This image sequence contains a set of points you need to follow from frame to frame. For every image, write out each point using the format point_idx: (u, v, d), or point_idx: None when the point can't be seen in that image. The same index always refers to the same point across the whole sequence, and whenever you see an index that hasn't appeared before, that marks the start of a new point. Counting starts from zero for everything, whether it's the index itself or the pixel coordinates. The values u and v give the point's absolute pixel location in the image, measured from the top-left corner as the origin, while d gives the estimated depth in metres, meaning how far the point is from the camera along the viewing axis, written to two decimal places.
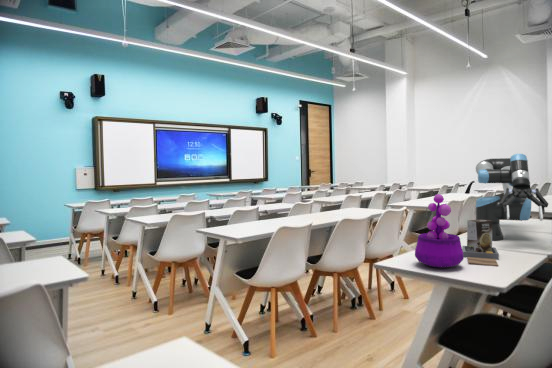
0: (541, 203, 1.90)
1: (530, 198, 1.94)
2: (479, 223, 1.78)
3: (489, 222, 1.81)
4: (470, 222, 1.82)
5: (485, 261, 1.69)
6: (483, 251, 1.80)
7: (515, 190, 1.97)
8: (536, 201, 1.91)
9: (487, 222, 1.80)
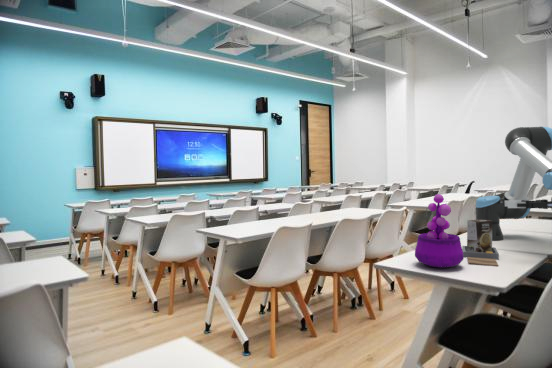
0: None
1: None
2: (479, 223, 1.78)
3: (489, 222, 1.81)
4: (470, 222, 1.82)
5: (485, 261, 1.69)
6: (483, 251, 1.80)
7: None
8: None
9: (487, 222, 1.80)
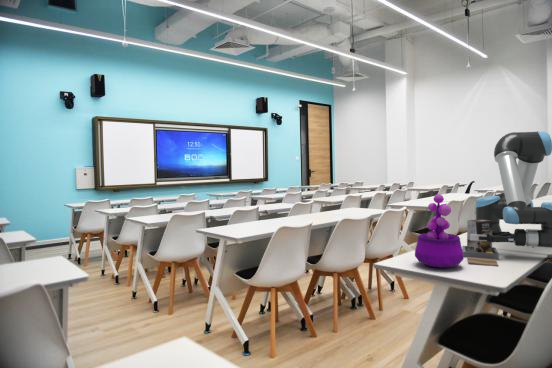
0: None
1: (498, 235, 1.82)
2: (479, 223, 1.78)
3: (489, 222, 1.81)
4: (470, 222, 1.82)
5: (485, 261, 1.69)
6: (483, 251, 1.80)
7: None
8: None
9: (487, 222, 1.80)
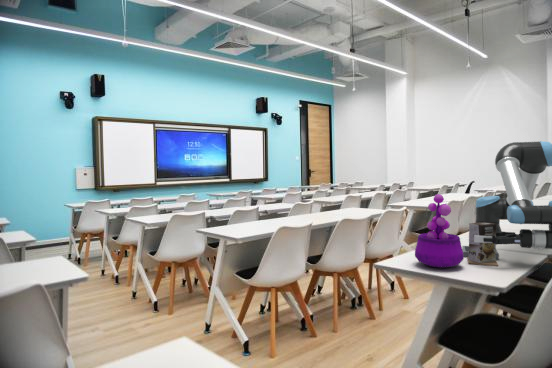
0: None
1: (502, 235, 1.70)
2: (482, 226, 1.66)
3: (493, 225, 1.68)
4: (472, 225, 1.69)
5: None
6: (486, 257, 1.67)
7: None
8: None
9: (490, 225, 1.67)
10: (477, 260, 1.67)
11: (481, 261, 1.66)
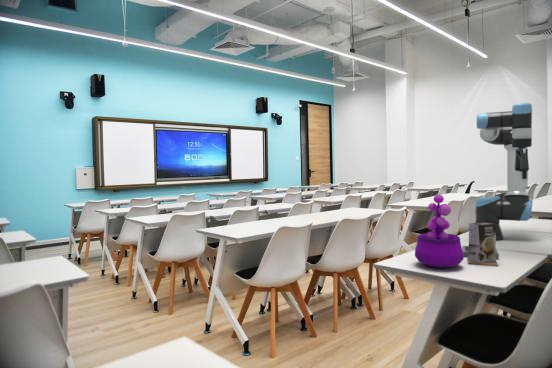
0: (521, 168, 1.73)
1: None
2: (482, 226, 1.66)
3: (492, 225, 1.68)
4: (472, 225, 1.69)
5: None
6: (486, 257, 1.67)
7: None
8: (520, 165, 1.75)
9: (490, 225, 1.67)
10: (477, 260, 1.67)
11: (481, 261, 1.66)
